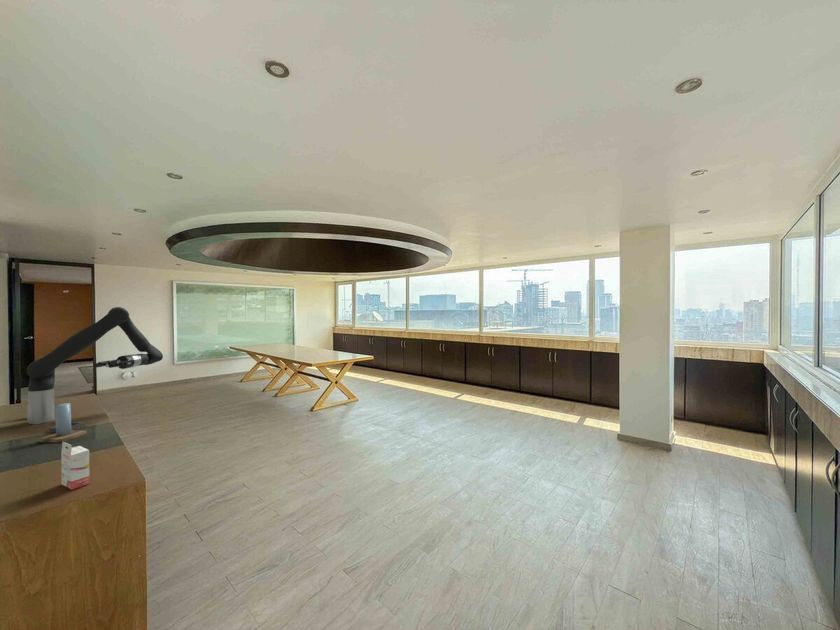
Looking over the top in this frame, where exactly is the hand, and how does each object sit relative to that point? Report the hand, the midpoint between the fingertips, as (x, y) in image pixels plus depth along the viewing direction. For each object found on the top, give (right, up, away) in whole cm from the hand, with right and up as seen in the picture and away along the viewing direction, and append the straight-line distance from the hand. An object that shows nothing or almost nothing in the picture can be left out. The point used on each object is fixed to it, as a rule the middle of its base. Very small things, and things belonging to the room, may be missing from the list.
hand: (101, 365), depth 183 cm
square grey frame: (-7, -30, -11) cm, 33 cm away
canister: (+4, -29, -23) cm, 37 cm away
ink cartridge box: (+52, -31, -66) cm, 90 cm away
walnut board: (+4, -30, -23) cm, 38 cm away
